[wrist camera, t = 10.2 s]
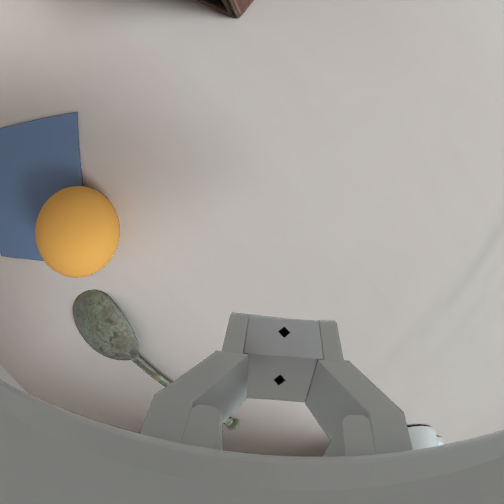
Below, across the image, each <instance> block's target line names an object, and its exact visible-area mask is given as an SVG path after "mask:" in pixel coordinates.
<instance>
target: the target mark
mask: <svg viewBox="0 0 504 504" xmlns="http://www.w3.org/2000/svg"><path fill="white" fill-rule="evenodd" d="M73 186H83V182H82V173H81V163H80V151H79V137H78V115H77V112H75V113H69V114H64V115H58V116H53V117H48V118H43V119H38V120H34V121H29V122H25V123H21V124H17V125H13V126H9V127H5V128H1V129H0V253H1V256H6V257H14V258H22V259H31V260H40V261H44V260H43V258H42V256H41V255H40V253H39V250H38V247H37V244H36V237H35V228H36V221H37V218H38V215H39V213H40V211H41V209H42V207H43V205H44V204H45V203H46V202H47V200H48V199H49V198H50V197H51V196H53V195H54V194H55V193H57V192H58V191H60V190H62V189H65V188H68V187H73Z"/></svg>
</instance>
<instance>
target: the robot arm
mask: <svg viewBox="0 0 504 504" xmlns="http://www.w3.org/2000/svg"><path fill="white" fill-rule="evenodd" d="M246 398H255V399H271V400H283V401H295V402H305V404H306V406H307V407H308V409H309V410H310V411H311V413H312V414H313V416H314V417H315V419H316V420H317V422H318V423H319V425H320V426H321V427H322V429H323V430H324V432H325V433H326V435H327V436H328V437H329V439H330V440H331V442H330V444H329V446H328V448H327V450H326V451H325V453H324V455H323V456H322V457H303V456H278V455H263V454H252V453H242V452H233V451H225V450H223V446H222V424H223V423H224V422H225V421H226V420H227V419H228V418H229V417H230V416H231V415H232V414H233V413H234V412H235V411H236V409H237V408H238V407H239V406H240V405H241V404H242V403H243V402H244V401H245V400H246ZM443 444H444V443H443V438H441V437H438V436H437V435H436V431H435V430H434V429H433V428H431V427H428V426H414V427H407V423H406V419H405V416H404V412H403V411H402V410H401V409H400V408H399V407H398V406H397V405H396V404H395V403H394V402H392V401H391V400H390V399H389V398H388V397H387V396H386V395H385V394H384V393H383V392H382V391H381V390H380V389H379V388H377V387H376V386H375V385H374V384H373V383H372V382H371V381H370V380H369V379H368V378H367V377H366V376H365V375H364V374H363V373H361V372H360V371H359V370H358V369H357V368H356V367H355V366H354V365H353V364H352V363H351V362H350V361H345V360H344V358H343V353H342V347H341V342H340V337H339V332H338V327H337V323H336V322H335V321H326V320H318V321H315V320H300V319H286V318H278V317H269V316H260V315H252V314H250V316H249V314H242V313H233V312H232V313H231V315H230V319H229V323H228V327H227V331H226V335H225V340H224V344H223V348H222V351H215V352H214V353H212V354H211V355H210V356H208V357H207V358H206V359H204V360H203V361H202V362H200V363H199V364H197V365H196V366H195V367H193V368H192V369H190V370H189V371H188V372H186V373H185V374H183V375H182V376H181V377H179V378H178V379H176V380H175V381H174V382H172V383H171V384H169V385H168V386H166V387H165V388H163V389H162V390H161V391H159V392H158V393H156V394H155V395H154V398H153V400H152V403H151V406H150V408H149V411H148V413H147V416H146V418H145V421H144V424H143V426H142V429H141V432H140V434H139V433H135V432H131V431H128V430H124V429H121V428H117V427H114V426H111V425H108V424H104V423H101V422H98V421H95V420H92V419H89V418H86V417H84V416H81V415H78V414H75V413H73V412H70V411H67V410H65V409H62V408H60V407H57V406H55V405H52V404H50V403H48V402H45V401H43V400H41V399H39V398H36V397H34V396H32V395H30V394H28V393H25V392H23V391H21V390H19V389H17V388H15V387H13V386H11V385H9V384H7V383H5V382H3V381H1V380H0V504H504V430H501V431H497V432H494V433H491V434H487V435H483V436H480V437H476V438H472V439H468V440H464V441H459V442H455V443H450V444H445V445H443Z"/></svg>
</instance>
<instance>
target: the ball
mask: <svg viewBox="0 0 504 504" xmlns="http://www.w3.org/2000/svg"><path fill="white" fill-rule="evenodd" d="M119 236H120V225H119V220H118V216H117V213H116V211H115V209H114V207H113V205H112V204H111V202H110V201H109V200H108V199H107V198H106V197H105V196H104V195H103V194H101V193H100V192H98V191H96V190H94V189H92V188H89V187H84V186H73V187H68V188H65V189H62V190H60V191H58V192H57V193H55V194H54V195H53V196H51V197H50V198H49V199H48V200H47V202H46V203H45V204H44V205H43V207H42V209H41V211H40V213H39V215H38V218H37V221H36V228H35V237H36V244H37V247H38V250H39V253H40V255H41V256H42V258H43V260H44V261H45V262H46V263H47V265H48V266H49V267H51V268H52V269H53V270H54V271H56V272H58V273H60V274H62V275H64V276H68V277H76V278H77V277H85V276H89V275H92V274H94V273H96V272H98V271H99V270H101V269H102V268H103V267H105V265H106V264H107V263H108V262H109V261H110V260H111V258H112V257H113V255H114V253H115V251H116V248H117V246H118V242H119Z"/></svg>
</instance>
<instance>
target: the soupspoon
mask: <svg viewBox="0 0 504 504" xmlns="http://www.w3.org/2000/svg"><path fill="white" fill-rule="evenodd" d="M73 314H74V319H75V323H76V325H77V328H78V330H79V332H80V334H81V335H82V337H83V338H84V340H85V341H86V342H87V343H88V344H89V345H90V346H91V347H92V348H93V349H94V350H96V351H97V352H99V353H100V354H102V355H104V356H106V357H109V358H112V359H116V360H132V361H133V362H134V363H136V364H137V365H138V366H139V367H140V368H141V369H143V370H144V371H145V372H146V373H148V374H149V375H150V376H151V377H152V378H154V379H155V380H156V381H158V382H159V383H161V384H162V385H163V386H165V387H166V386H168V385H169V384H171V382H169V381H168V380H167V379H165V378H164V377H163V376H162V375H160V374H159V373H158V372H157V371H156V370H154V369H153V368H152V367H151V366H150V365H149V364H148V363H147V362H145V361H144V360H143V359H142V358H141V357H140V356H139V345H138V341H137V339H136V337H135V334H134V332H133V330H132V328H131V326H130V324H129V323H128V321H127V319H126V318H125V316H124V315H123V314H122V313H121V311H120V310H119V309H118V307H117V306H116V305H115V304H114V302H113V301H112V300H111V298H110V297H109V296H108V295H106V294H105V293H103V292H101V291H99V290H88V291H85V292H83V293H81V294H80V295H79V296H78V297H77V298H76V300H75V302H74V306H73ZM224 424H225V425H226V426H227V428H228V429H229V430H233V429H235V428H236V427H237V426H238V424H239V420H238V419H232V418H231V417H229V418H228V419H227V420H226V421H225V422H224Z"/></svg>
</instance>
